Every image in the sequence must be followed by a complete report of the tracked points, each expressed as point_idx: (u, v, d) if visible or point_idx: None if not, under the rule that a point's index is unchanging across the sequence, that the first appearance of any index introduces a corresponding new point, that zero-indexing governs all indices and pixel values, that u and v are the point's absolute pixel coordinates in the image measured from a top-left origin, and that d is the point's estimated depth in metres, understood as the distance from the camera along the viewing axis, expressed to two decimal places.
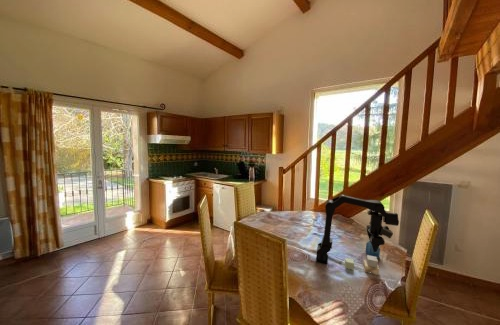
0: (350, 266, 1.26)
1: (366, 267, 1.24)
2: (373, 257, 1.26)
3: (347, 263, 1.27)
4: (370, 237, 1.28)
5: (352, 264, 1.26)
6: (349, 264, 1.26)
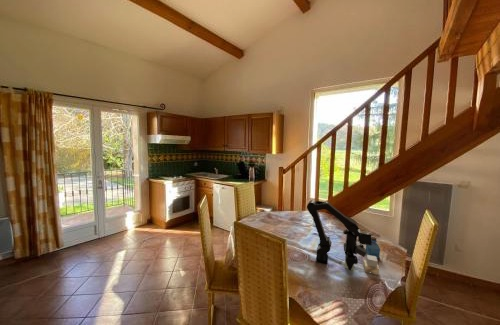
0: None
1: (366, 267, 1.24)
2: (373, 257, 1.26)
3: None
4: (347, 254, 1.33)
5: None
6: None
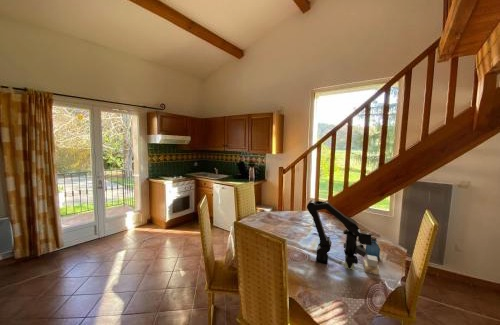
0: None
1: (366, 267, 1.24)
2: (373, 257, 1.26)
3: None
4: None
5: (353, 264, 1.26)
6: None
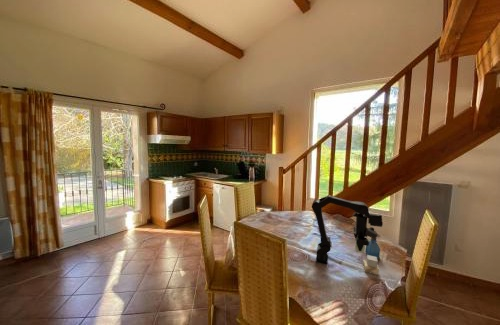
0: None
1: (366, 267, 1.24)
2: (373, 257, 1.26)
3: (357, 246, 1.24)
4: None
5: (363, 247, 1.23)
6: None
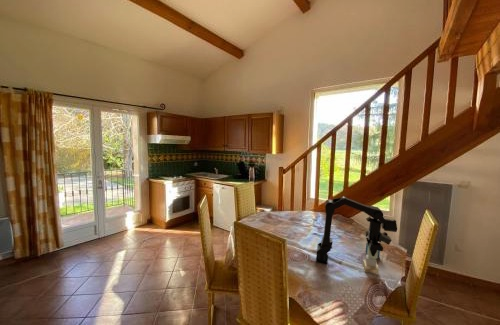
0: None
1: (366, 267, 1.24)
2: None
3: None
4: None
5: (376, 252, 1.22)
6: None
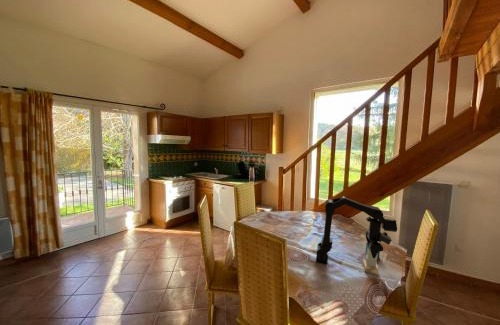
0: None
1: (366, 267, 1.24)
2: None
3: (370, 253, 1.24)
4: (369, 243, 1.29)
5: None
6: None
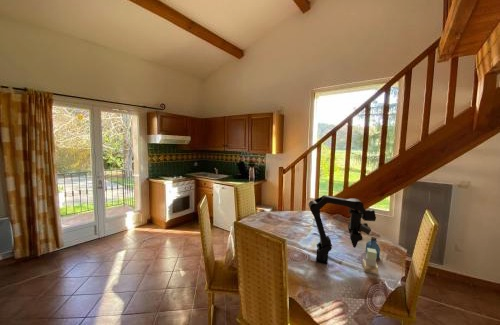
0: (372, 256, 1.23)
1: (365, 267, 1.24)
2: None
3: (370, 253, 1.24)
4: None
5: (375, 254, 1.23)
6: (371, 254, 1.24)
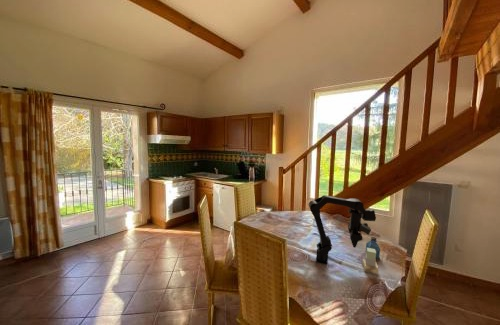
0: (372, 256, 1.24)
1: (365, 267, 1.24)
2: None
3: (369, 253, 1.24)
4: None
5: (375, 254, 1.23)
6: (370, 254, 1.24)
